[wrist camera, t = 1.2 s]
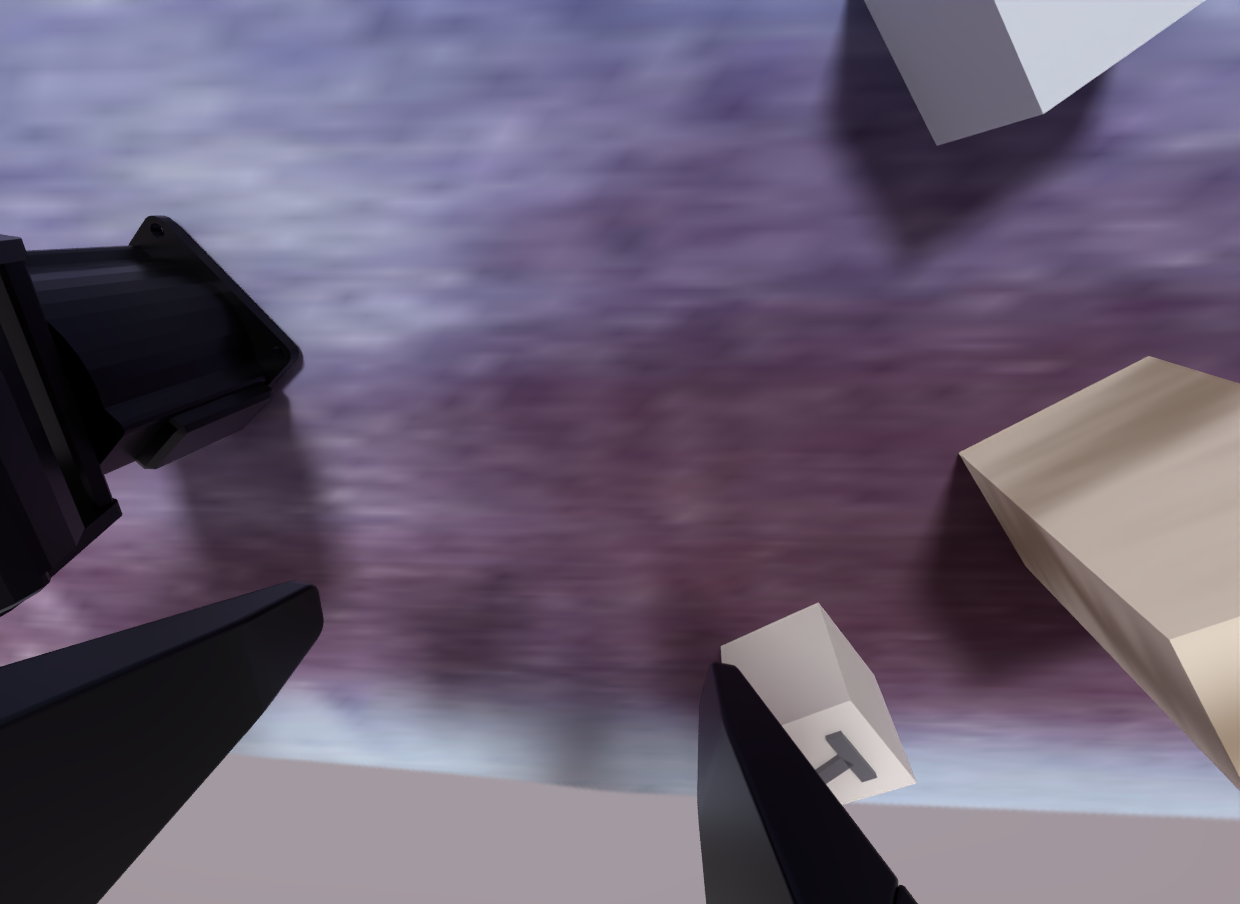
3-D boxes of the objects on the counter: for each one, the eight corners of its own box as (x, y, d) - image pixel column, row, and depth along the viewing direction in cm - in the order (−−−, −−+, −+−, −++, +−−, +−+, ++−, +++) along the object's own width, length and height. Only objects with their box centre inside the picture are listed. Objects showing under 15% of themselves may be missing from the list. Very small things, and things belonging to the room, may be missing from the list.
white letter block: (720, 645, 24) (727, 750, 19) (817, 601, 22) (852, 705, 17) (777, 710, 25) (796, 823, 20) (873, 673, 23) (919, 788, 18)
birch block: (958, 452, 18) (1168, 639, 10) (1148, 355, 16) (1606, 495, 8) (1025, 566, 20) (1254, 806, 12) (1206, 491, 18) (1640, 722, 10)
